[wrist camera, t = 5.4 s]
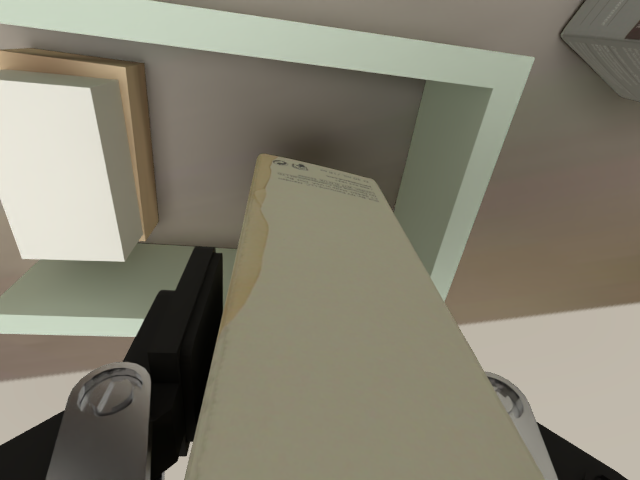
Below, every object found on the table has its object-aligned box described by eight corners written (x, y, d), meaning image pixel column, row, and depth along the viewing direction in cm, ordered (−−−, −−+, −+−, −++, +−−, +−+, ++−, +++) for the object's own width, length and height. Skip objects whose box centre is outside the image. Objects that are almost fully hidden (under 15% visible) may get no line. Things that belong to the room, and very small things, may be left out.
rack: (455, 50, 19) (535, 57, 13) (395, 272, 26) (429, 343, 20) (-3, -17, 16) (-175, -48, 10) (66, 255, 23) (-11, 333, 17)
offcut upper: (118, 79, 16) (90, 87, 14) (143, 234, 20) (124, 261, 18) (5, 69, 16) (-45, 76, 13) (54, 231, 20) (22, 258, 17)
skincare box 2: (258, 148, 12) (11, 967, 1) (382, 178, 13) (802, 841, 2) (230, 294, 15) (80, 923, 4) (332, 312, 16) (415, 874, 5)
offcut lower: (147, 62, 19) (125, 67, 16) (160, 217, 23) (145, 241, 20) (37, 47, 18) (-5, 49, 15) (72, 211, 22) (44, 234, 20)
